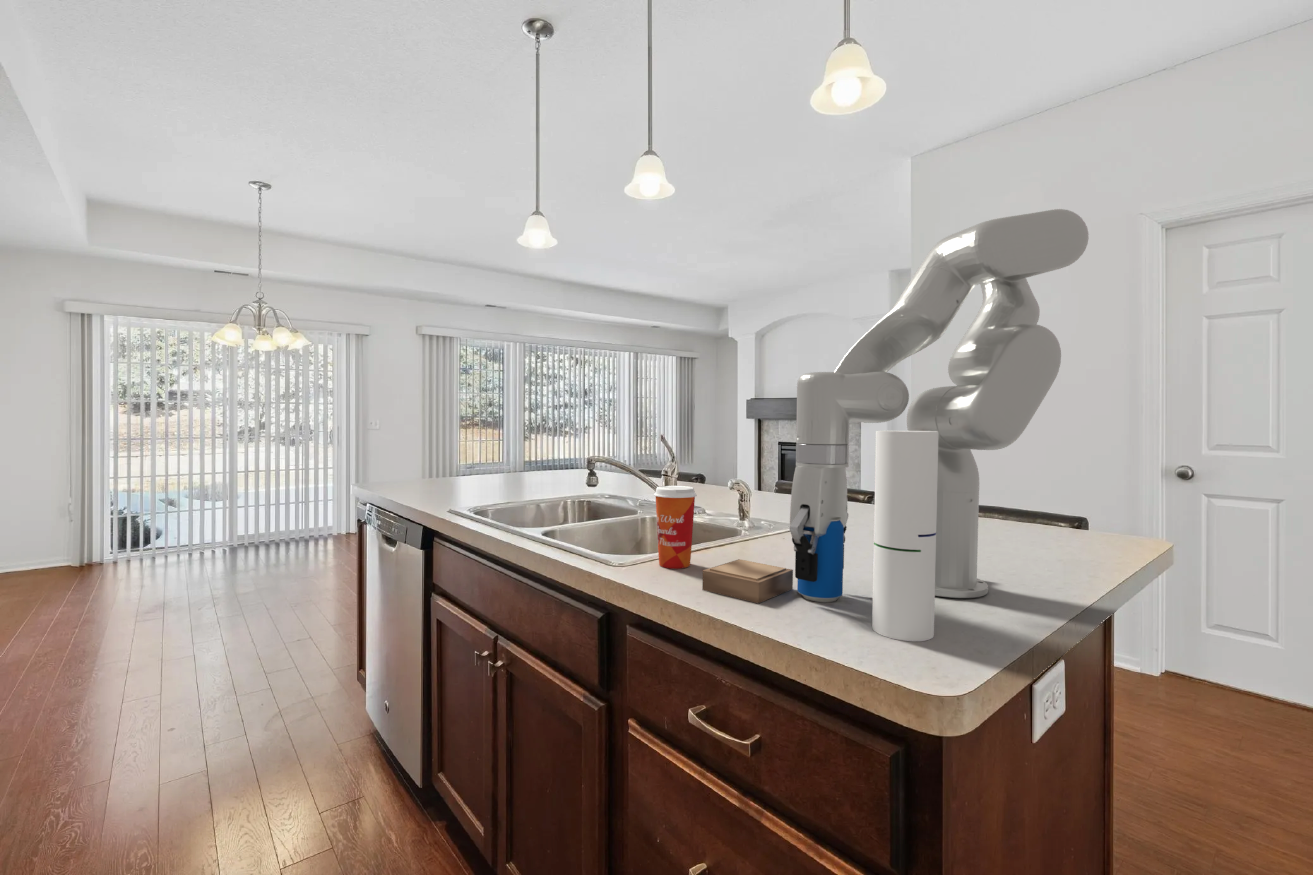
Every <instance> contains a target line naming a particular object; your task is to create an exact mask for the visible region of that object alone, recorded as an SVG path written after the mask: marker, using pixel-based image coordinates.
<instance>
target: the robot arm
mask: <svg viewBox="0 0 1313 875" xmlns="http://www.w3.org/2000/svg"><path fill="white" fill-rule="evenodd" d="M1088 244H1089V229H1088V226H1087V224H1086V222H1085V220H1084V219H1083V218H1082V217H1081V216H1080V215H1079V214H1077V213H1076V212H1074V211H1071V210H1069V209H1064V208H1063V209H1062V208H1055V209H1050V210H1042V211H1037V212H1031V213H1024V214H1018V215H1011V216H1004V217H1000V218H994V219H988V220H985V221H983V222H980V223H977V224H975V225H972V226H970V227H967V228H964V229H963V230H959V231H957V232H955V233H952V234H950V235H948V236H945V237H943V238H942V239H940V240H939V241H938V242H936V243H935V244H934V245H933V247H932V248H931V249H930V250H929V252H928V253H927V254H926V256H925V257H924V258H923V261H921V262H922V263H920V266H919V267H918V268H917V270H916V272H915V273H914V274H913V276H912V277H911V279H910V281H909V283H908V284H907V285H906V287H905V288H904V290H903V292H902V293H901V294H900V296H899V297H898V298H897V300H896V301H895V304H894V305H893V306H892V307H891V308H890V310H889V311H888V312H887V313H886V314H885V315H883V316H882V317H881V318H880V319H879V320H878V321H877V322H876V323H875V324H874V325H873V326H871V328H870V329H869V330H868V331H867V332H866V333H865V334H864V335H862V337H860V338H859V339H858V340H857V341H856V342H855V343H854V344H853V346H851V348H850V349H849V350H848V352H846V354H845V355H844V356H843V358H842V359H841V361H840V362H839V364H838V365H837V367H836V368H835V370H834V371H813V372H807V373H803V374H802V375H800V377H799V378H798V380H797V384H796V385H797V386H796V432H795V440H796V441H795V443H796V444H795V468H794V474H793V480H792V485H791V493H790V496H791V497H790V509H789V532H790V534H791V537H792V538H791V542H792V544H793V551H794V552H795V554H794V555H795V556H794V557H795V558H794V561H795V566H794V568H795V569H794V576H795V578H796V579H797V580H798V579H801V580H806V581H811V582H815V581H817V567H818V554H817V553H815V550H816V546H817V543H818V539H819V536H823V535H825V534H826V531H827V528H828V526H829V525H830V523H831V520H836V519H840V517H841V520H840V521H841V523H842V524H843V526H844V541H843V570H844V568H845V566H844V565H845V564H844V563H845V543H846V535H845V534H846V531H847V528H848V527H847V523H848V519H849V512H848V482H847V469H846V468H849V465H850V464H849V463H850V423H865V424H867V423H868V424H871V423H872V424H873V423H875V424H879V423H887V422H890V421H892V420H895V419H896V418H898V417H899V416H900V415H902V414H903V413H904V411H905V410H906V408H907V407H908V405H909V407H908V409H907V414H906V428H907V430H906V431H937V432H938V476H937V519H936V563H935V597H942V598H952V599H972V598H975V599H976V598H981V597H983V596H986V595H987V594H988V592H989V585H988V584H987V582H986V581H984V580H982V579H980V578H978V550H979V549H978V547H979V513H980V512H979V510H980V507H979V506H980V504H979V503H980V472H979V468H978V465H977V462H976V459H975V457H974V455H973V453H972V450H977V451H996V450H1003V449H1005V448H1007V447H1009V446H1010V445H1012V444H1013V443H1014V442H1016V441H1017V440H1018V439H1019V438H1020V437H1021V436H1022V435H1023V433H1024V431H1025V430H1026V429H1027V427H1028V425H1029V424H1030V422H1031V420H1032V419H1033V417H1034V415H1035V414H1036V413H1037V411H1038V409H1039V407H1040V406H1041V404H1042V402H1043V400H1045V398H1046V396H1047V394H1048V392H1049V391H1050V390H1051V387H1052V386H1053V384H1054V382H1055V380H1056V378H1057V377H1058V373H1059V371H1060V367H1061V362H1062V350H1061V346H1060V344H1061V343H1060V342H1059V340H1058V338H1057V337H1056V335H1055V334H1054V332H1053V331H1051V329H1049V328H1047V327H1045V326H1043V325H1040V324H1038V322H1039V319H1040V305H1039V303H1038V300H1037V299H1036V296H1035V295H1034V293H1033V291H1032V289H1031V287H1030V284H1029V282H1028V279H1027V278H1030V277H1035V276H1037V275H1042V274H1045V273H1049V272H1053V271H1056V270H1061V269H1063V268H1066V267H1068V266H1071V265H1072V264H1074V263H1075V262H1076V261H1078V260H1079V259H1080V258H1081V257H1082V256H1083V254H1084V253H1085V252H1086V249H1087V246H1088ZM978 285H980V288H981V292H982V303H981V306H980V309H979V311H978V312H977V314H976V316H975V318H974V319H973V321H972V323H971V324H970V326H969V327H968V328H967V330H966V331H965V333H964V334H963V336H962V338H961V339H960V341H959V342H958V345H957V346H956V348H955V349H954V351H953V353H952V354H951V357H950V359H949V361H948V364H947V365H948V366H947V371H948V372H947V373H948V377H949V379H950V380H951V382H952V383H953V384H955V385H949V386H937V387H933V388H930V389H927V390H924V391H922V392H921V393H919V394H918V395H917V396H915V398H913V400H912V401H911V403H910V404H909V400H910V394H909V389H908V386H907V385H906V383H905V381H904V380H902V379H901V378H900V376H899V377H898V376H897V375H896V374H893V373H890V372H889V371H890V370H891V369H893V367H895V366H896V365H897V364H899V363H901V362H902V361H904V360H906V359H907V358H910V357H911V356H913V355H915V354H916V353H919V352H921V351H922V350H924V349H926V348H927V347H929V346H931V345H932V344H933V343H935V342H936V341H938V340H939V339H940V338H941V337H942V336H943V335H944V334H945V333H946V331H947V330H948V328H949V327H950V325H951V323H952V322H953V320H954V318H955V317H956V315H957V313H958V312H959V310H960V308H961V307H962V306H963V305H964V303H965V301H966V300H967V298H968V296H969V294H971V292H972V290H973V289H974V288H975V287H976V286H978ZM805 527H811V528H814V531H807V530H805ZM806 537H810V538H811V540H810V543H809V541H808V540H807V538H806Z"/></svg>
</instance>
